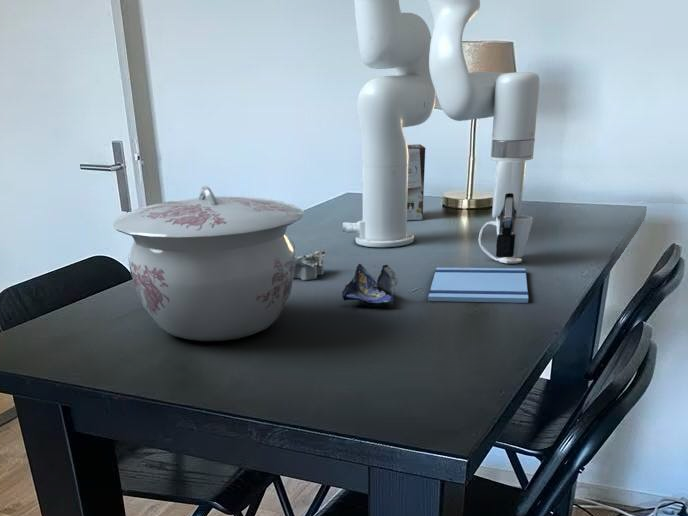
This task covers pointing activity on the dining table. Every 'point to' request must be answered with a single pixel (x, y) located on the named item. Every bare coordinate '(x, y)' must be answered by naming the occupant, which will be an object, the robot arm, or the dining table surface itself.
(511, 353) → the dining table surface
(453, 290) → the towel
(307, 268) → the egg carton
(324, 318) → the dining table surface
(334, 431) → the dining table surface
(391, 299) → the snack package
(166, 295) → the chamber pot
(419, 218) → the coffee box
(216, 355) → the dining table surface
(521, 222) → the cup
